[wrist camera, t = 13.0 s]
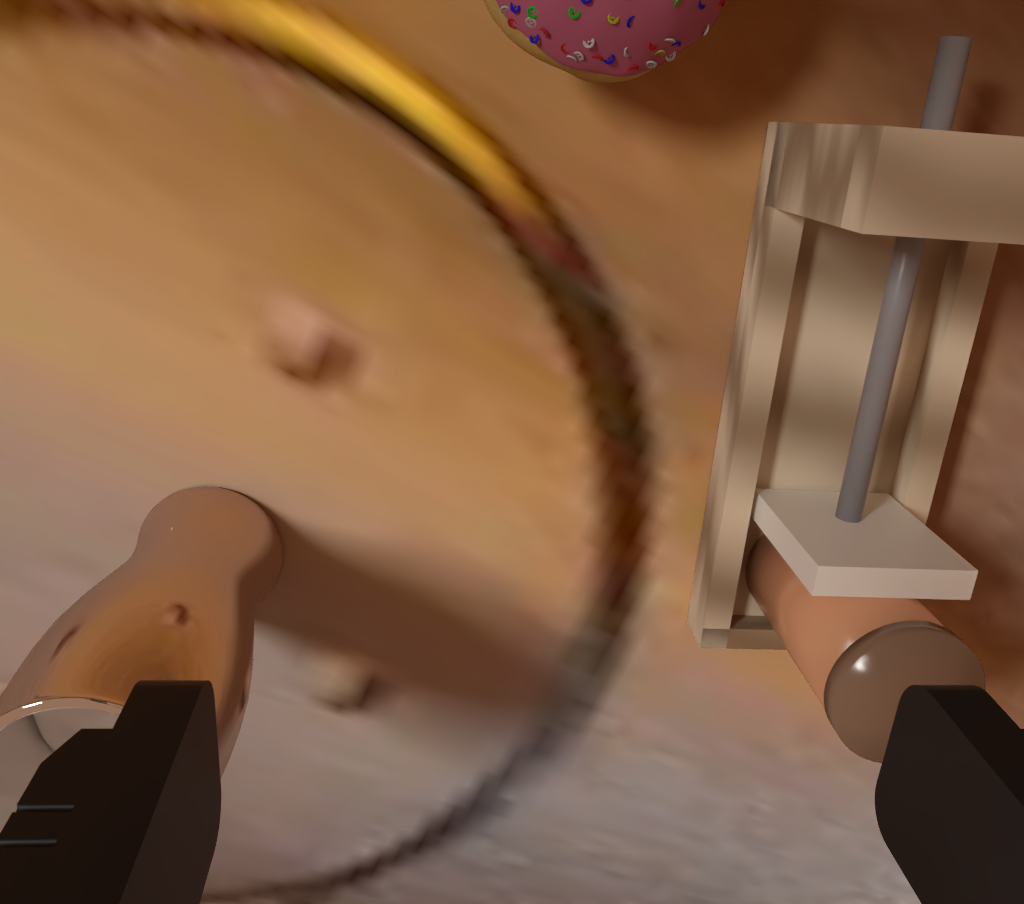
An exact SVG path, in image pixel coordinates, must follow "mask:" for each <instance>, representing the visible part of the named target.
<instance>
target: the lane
mask: <svg viewBox="0 0 1024 904" xmlns="http://www.w3.org/2000/svg"><path fill="white" fill-rule="evenodd" d="M896 236H902V237H916V238H926V242H925V246H924V251H923V255H922V259H921V264H920V268H919V272H918V277H917V281H916V285H915V290H914V294H913V298H912V303H911V307H910V311H909V316H908V320H907V324H906V328H905V333H904V337H903V341H902V346H901V350H900V354H899V359H898V363H897V367H896V372H895V376H894V380H893V385H892V389H891V393H890V398H889V402H888V406H887V411H886V415H885V419H884V424H883V428H882V432H881V437H880V441H879V445H878V449H877V454H876V458H875V462H874V467H873V471H872V475H871V480H870V484H869V488H868V493H888V494H889V495H890V496H891V497H893V498H894V499H895V500H896V501H897V502H898V503H900V504H901V505H902V506H903V507H904V508H906V509H907V510H908V511H909V512H910V513H911V514H913V515H914V516H915V517H916V518H917V519H918V520H920V521H921V522H922V523H923V524H924V525H925V526H926V522H927V518H928V514H929V510H930V507H931V503H932V499H933V495H934V491H935V487H936V484H937V480H938V476H939V472H940V468H941V464H942V460H943V457H944V453H945V449H946V445H947V441H948V437H949V434H950V430H951V426H952V422H953V418H954V414H955V410H956V407H957V403H958V399H959V395H960V391H961V387H962V383H963V380H964V376H965V372H966V368H967V364H968V360H969V357H970V353H971V349H972V345H973V341H974V337H975V333H976V330H977V326H978V322H979V318H980V314H981V310H982V307H983V303H984V299H985V295H986V291H987V287H988V283H989V280H990V276H991V272H992V268H993V264H994V260H995V256H996V253H997V249H998V245H999V243H1005V244H1019V245H1024V137H1019V136H1007V135H994V134H982V133H969V132H957V131H945V130H932V129H920V128H907V127H895V126H880V125H852V124H825V123H797V122H769V123H768V129H767V135H766V142H765V148H764V154H763V160H762V166H761V172H760V178H759V184H758V191H757V197H756V203H755V209H754V215H753V221H752V227H751V233H750V240H749V246H748V252H747V258H746V264H745V270H744V276H743V282H742V289H741V295H740V301H739V307H738V313H737V319H736V325H735V331H734V338H733V344H732V350H731V356H730V362H729V368H728V374H727V380H726V386H725V393H724V399H723V405H722V411H721V417H720V423H719V429H718V435H717V442H716V448H715V454H714V460H713V466H712V472H711V478H710V484H709V491H708V497H707V503H706V509H705V515H704V521H703V527H702V533H701V540H700V546H699V552H698V558H697V564H696V570H695V576H694V582H693V589H692V595H691V601H690V607H689V613H688V619H687V622H688V624H689V626H690V629H691V631H692V633H693V635H694V637H695V639H696V641H697V643H698V645H699V647H700V648H731V649H779V650H786V648H785V647H784V645H783V643H782V642H781V640H780V639H779V637H778V636H777V634H776V633H775V631H774V629H773V628H772V626H771V625H770V623H769V622H768V620H767V619H766V617H765V615H764V614H763V612H762V611H761V609H760V608H759V606H758V605H757V603H756V601H755V600H754V598H753V597H752V595H751V593H750V591H749V589H748V586H747V583H746V574H745V570H746V563H747V559H748V556H749V554H750V551H751V549H752V548H753V546H754V544H755V543H756V541H757V540H758V539H759V537H760V536H761V535H762V534H763V531H762V530H761V529H760V527H759V526H758V525H757V523H756V522H755V521H754V519H753V518H752V517H751V516H750V515H751V509H752V504H753V499H754V493H755V488H761V489H787V490H812V491H838V492H840V490H841V485H842V481H843V476H844V472H845V467H846V463H847V458H848V454H849V449H850V445H851V440H852V435H853V431H854V426H855V422H856V417H857V413H858V408H859V404H860V399H861V394H862V390H863V385H864V381H865V376H866V372H867V367H868V363H869V358H870V353H871V349H872V344H873V340H874V335H875V331H876V326H877V322H878V317H879V312H880V308H881V303H882V299H883V294H884V290H885V285H886V281H887V276H888V271H889V267H890V262H891V258H892V253H893V249H894V244H895V240H896Z"/></svg>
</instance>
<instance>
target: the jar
mask: <svg viewBox="0 0 1024 904" xmlns="http://www.w3.org/2000/svg"><path fill="white" fill-rule="evenodd" d="M745 574H746V583H747V586H748V589H749V591H750V593H751V595H752V597H753V598H754V600H755V601H756V603H757V605H758V606H759V608H760V609H761V611H762V612H763V614H764V615H765V617H766V619H767V620H768V622H769V623H770V625H771V626H772V628H773V629H774V631H775V633H776V634H777V636H778V637H779V639H780V640H781V642H782V643H783V645H784V647H785V648H786V650H787V651H788V653H789V654H790V656H791V657H792V659H793V661H794V662H795V664H796V665H797V667H798V668H799V670H800V671H801V673H802V675H803V676H804V678H805V679H806V681H807V682H808V684H809V685H810V687H811V689H812V690H813V692H814V693H815V695H816V696H817V698H818V699H819V701H820V703H821V704H822V706H823V707H824V709H825V712H826V715H827V717H828V719H829V721H830V723H831V725H832V726H833V728H834V730H835V731H836V733H837V734H838V736H839V737H840V739H841V740H842V742H843V743H844V744H845V745H846V746H847V747H848V748H849V749H850V750H851V751H852V752H854V753H855V754H857V755H859V756H861V757H863V758H865V759H868V760H871V761H874V762H879V763H882V762H883V758H884V755H885V751H886V747H887V744H888V740H889V736H890V733H891V729H892V726H893V722H894V718H895V715H896V711H897V707H898V704H899V701H900V698H901V695H902V694H903V692H904V691H905V690H906V688H908V687H909V686H911V685H975V686H978V687H980V688H982V689H984V690H985V686H986V684H985V675H984V670H983V667H982V665H981V663H980V661H979V659H978V658H977V656H976V655H975V653H974V652H973V651H972V650H971V649H970V648H969V647H968V646H967V645H966V644H965V643H964V642H963V641H962V640H961V639H960V638H959V637H958V636H957V635H956V634H954V633H953V632H952V631H950V630H949V629H947V628H945V627H944V626H943V625H942V624H941V623H940V622H939V621H938V620H937V619H936V618H935V617H934V616H933V615H932V614H931V612H930V611H929V610H928V609H927V608H926V607H925V606H924V605H923V604H922V603H921V602H920V601H919V600H918V599H911V598H874V597H837V596H812V595H811V594H810V593H809V591H808V590H807V589H806V587H805V586H804V585H803V583H802V582H801V581H800V580H799V578H798V577H797V576H796V574H795V573H794V572H793V570H792V569H791V568H790V566H789V565H788V564H787V563H786V561H785V560H784V559H783V557H782V556H781V555H780V553H779V552H778V551H777V550H776V548H775V547H774V546H773V544H772V543H771V542H770V540H769V539H768V538H767V536H766V535H765V534H764V533H763V534H762V535H761V536H760V537H759V539H758V540H757V541H756V543H755V544H754V546H753V548H752V549H751V551H750V554H749V556H748V559H747V563H746V570H745Z"/></svg>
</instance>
